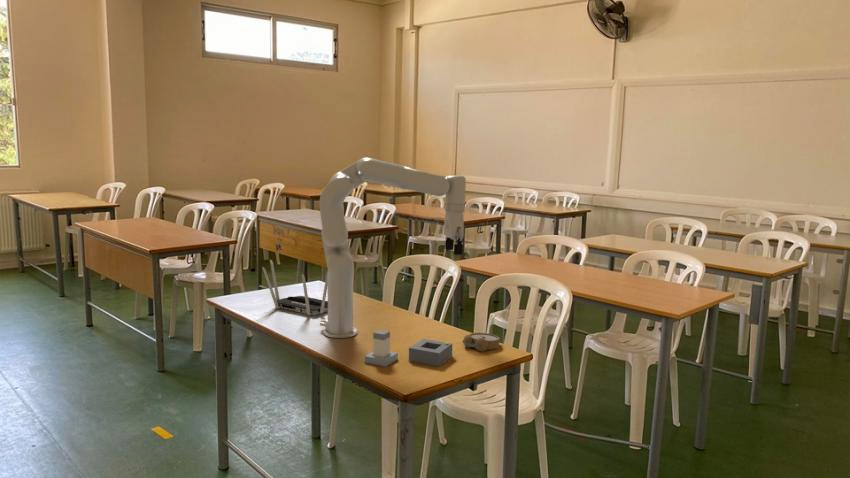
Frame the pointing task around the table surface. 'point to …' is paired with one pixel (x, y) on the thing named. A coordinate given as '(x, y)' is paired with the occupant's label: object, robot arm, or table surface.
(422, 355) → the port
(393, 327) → the table surface
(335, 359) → the table surface
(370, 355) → the light grey square frame
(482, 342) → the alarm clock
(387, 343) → the plug
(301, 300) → the wireless router
